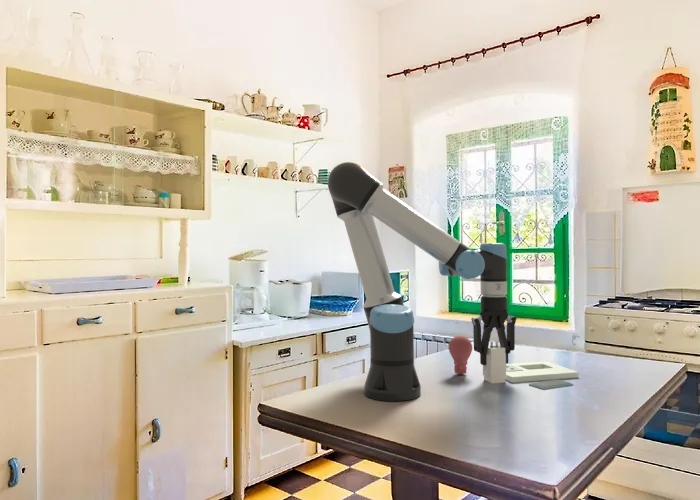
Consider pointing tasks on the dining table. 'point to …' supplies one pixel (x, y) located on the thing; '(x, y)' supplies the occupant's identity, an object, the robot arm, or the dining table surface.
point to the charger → (496, 364)
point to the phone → (550, 384)
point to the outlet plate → (537, 372)
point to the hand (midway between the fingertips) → (494, 375)
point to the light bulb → (460, 353)
